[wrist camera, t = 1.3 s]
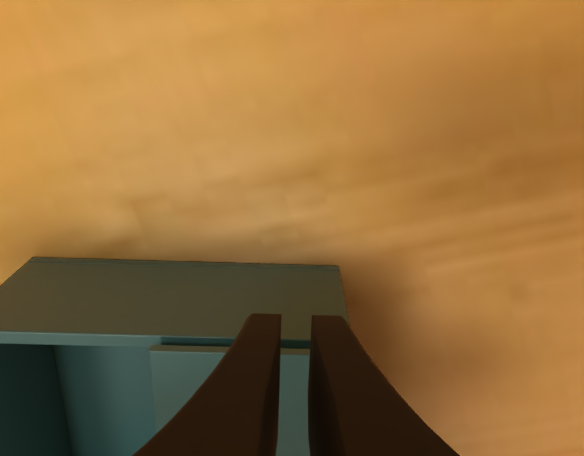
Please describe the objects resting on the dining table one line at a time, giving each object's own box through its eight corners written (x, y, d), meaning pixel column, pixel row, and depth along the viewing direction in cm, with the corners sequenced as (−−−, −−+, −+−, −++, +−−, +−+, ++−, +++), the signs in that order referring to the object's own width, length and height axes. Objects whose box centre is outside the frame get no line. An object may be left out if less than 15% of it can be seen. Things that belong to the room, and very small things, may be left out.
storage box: (73, 481, 26) (10, 612, 20) (32, 256, 21) (-67, 343, 15) (322, 487, 26) (330, 619, 20) (338, 265, 21) (356, 355, 15)
